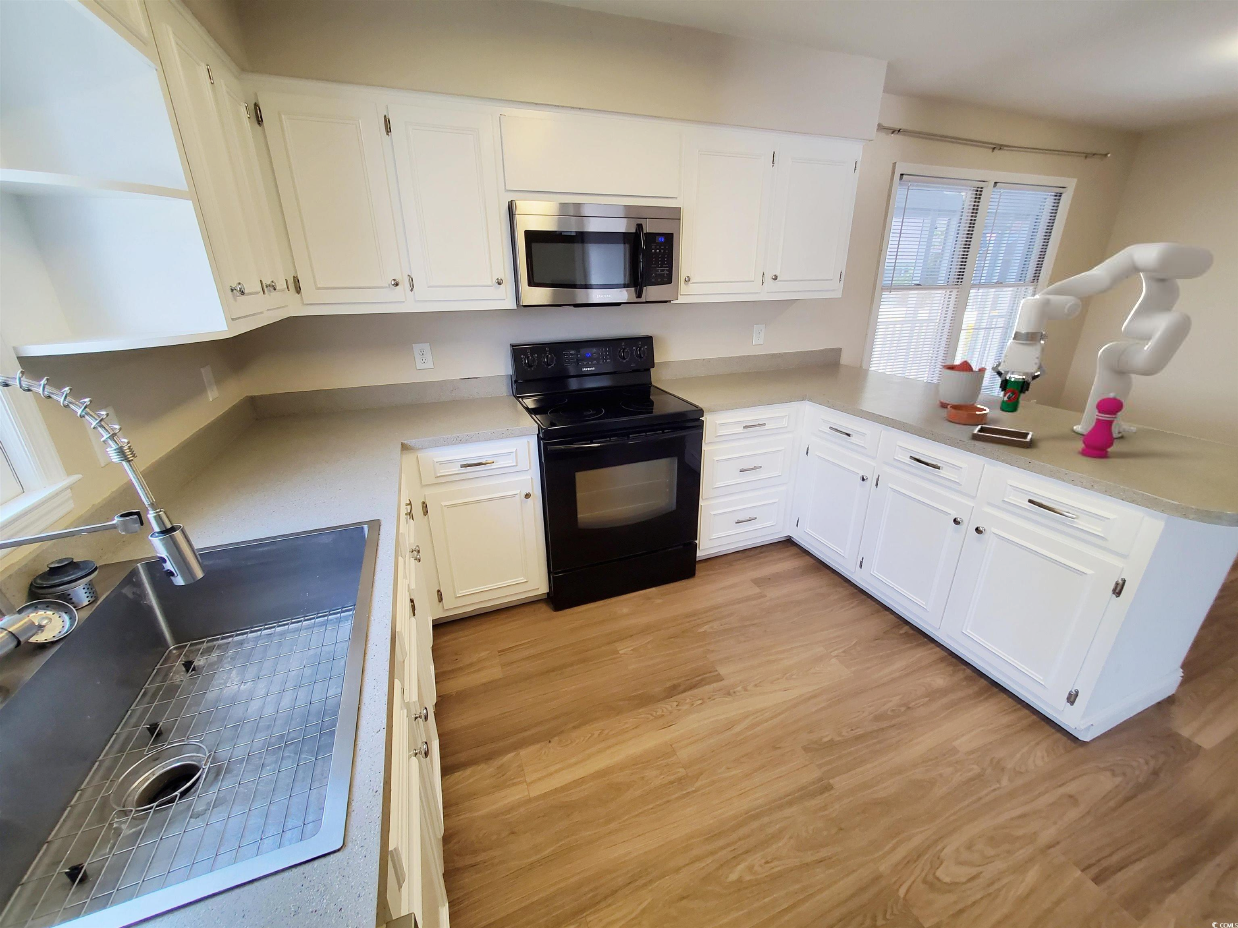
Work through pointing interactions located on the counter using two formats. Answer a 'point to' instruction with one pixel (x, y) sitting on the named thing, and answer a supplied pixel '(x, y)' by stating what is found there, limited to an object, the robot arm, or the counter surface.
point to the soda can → (1012, 393)
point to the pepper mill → (1102, 428)
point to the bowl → (967, 414)
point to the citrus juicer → (960, 384)
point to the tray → (1002, 436)
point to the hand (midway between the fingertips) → (1013, 391)
